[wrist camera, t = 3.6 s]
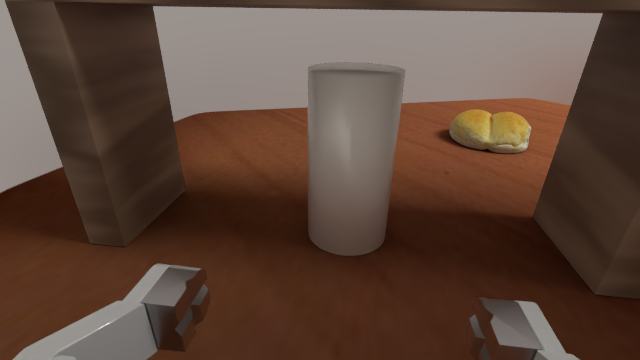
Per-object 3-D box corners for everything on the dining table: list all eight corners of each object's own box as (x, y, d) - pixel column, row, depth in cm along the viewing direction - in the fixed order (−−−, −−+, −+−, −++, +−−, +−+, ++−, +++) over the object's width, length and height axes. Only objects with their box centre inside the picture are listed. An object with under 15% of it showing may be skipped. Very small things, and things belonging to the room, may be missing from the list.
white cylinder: (383, 214, 26) (401, 63, 21) (386, 259, 21) (410, 78, 16) (314, 208, 26) (315, 61, 22) (301, 251, 22) (299, 74, 17)
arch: (567, 220, 25) (671, -38, 18) (644, 299, 18) (864, -72, 11) (158, 187, 29) (108, -38, 22) (90, 243, 22) (-18, -64, 15)
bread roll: (455, 128, 47) (460, 99, 45) (528, 140, 43) (537, 109, 41) (440, 145, 41) (446, 112, 39) (524, 161, 36) (535, 125, 35)
